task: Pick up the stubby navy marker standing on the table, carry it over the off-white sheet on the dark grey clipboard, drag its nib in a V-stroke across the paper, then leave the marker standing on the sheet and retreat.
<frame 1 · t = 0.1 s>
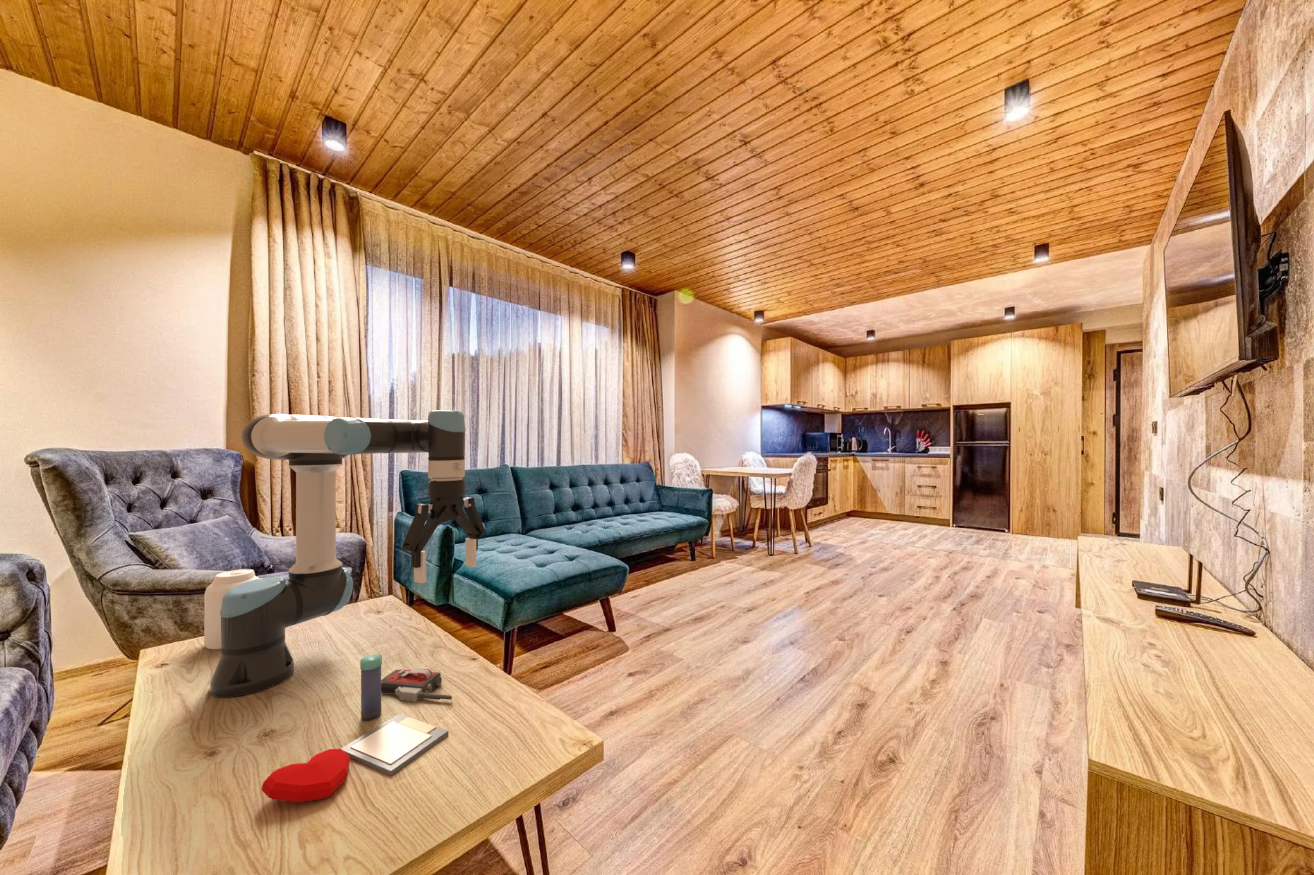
hand: (446, 573, 103), 28 cm above the table, fingers open, 13 cm apart
marker: (371, 716, 96), on the table
white jar: (234, 641, 133), on the table
heart: (315, 791, 76), on the table
clipboard: (395, 743, 87), on the table
walkie-talkie: (420, 693, 106), on the table
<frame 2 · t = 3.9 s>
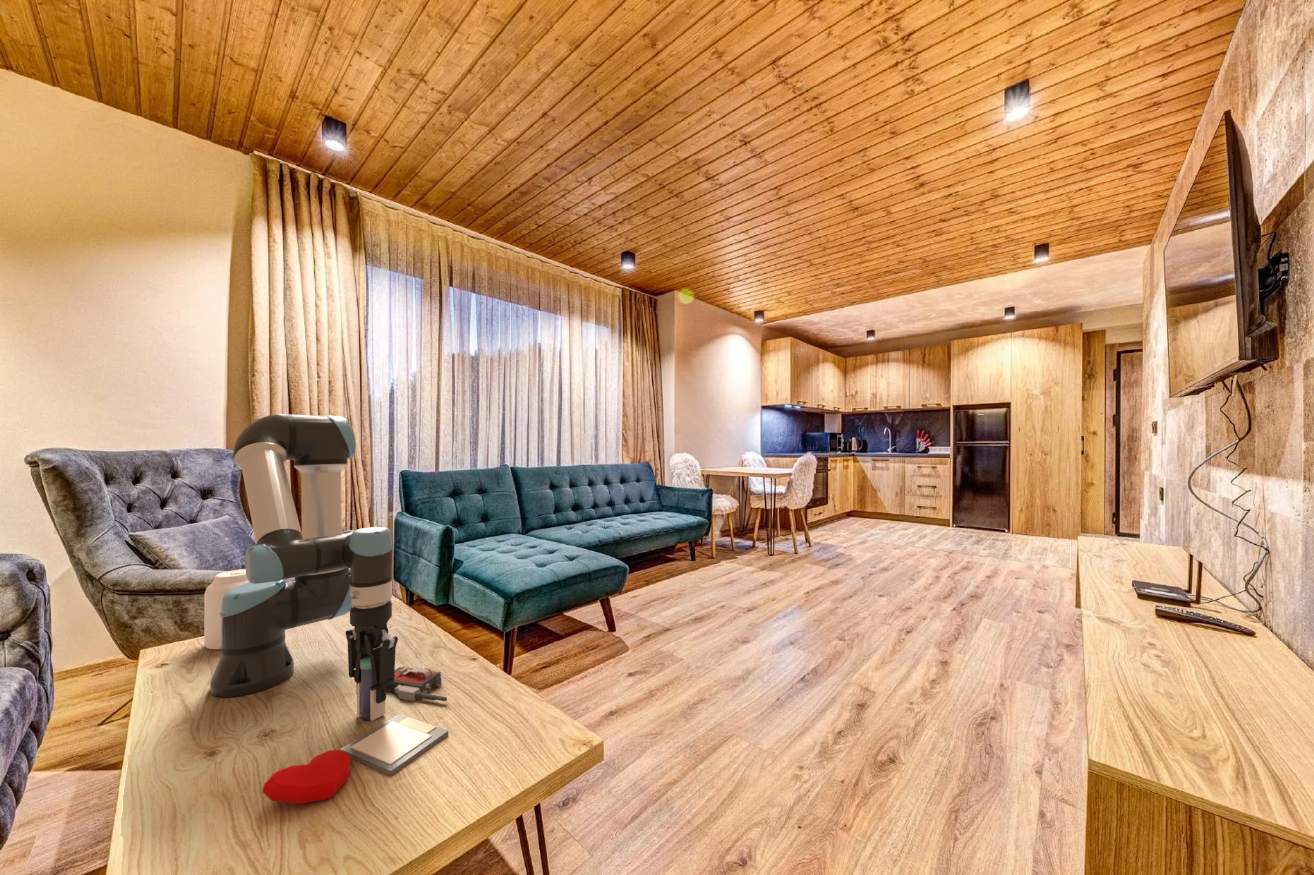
hand: (371, 714, 96), 0 cm above the table, fingers closed on marker, 4 cm apart
marker: (371, 715, 96), on the table, touching gripper
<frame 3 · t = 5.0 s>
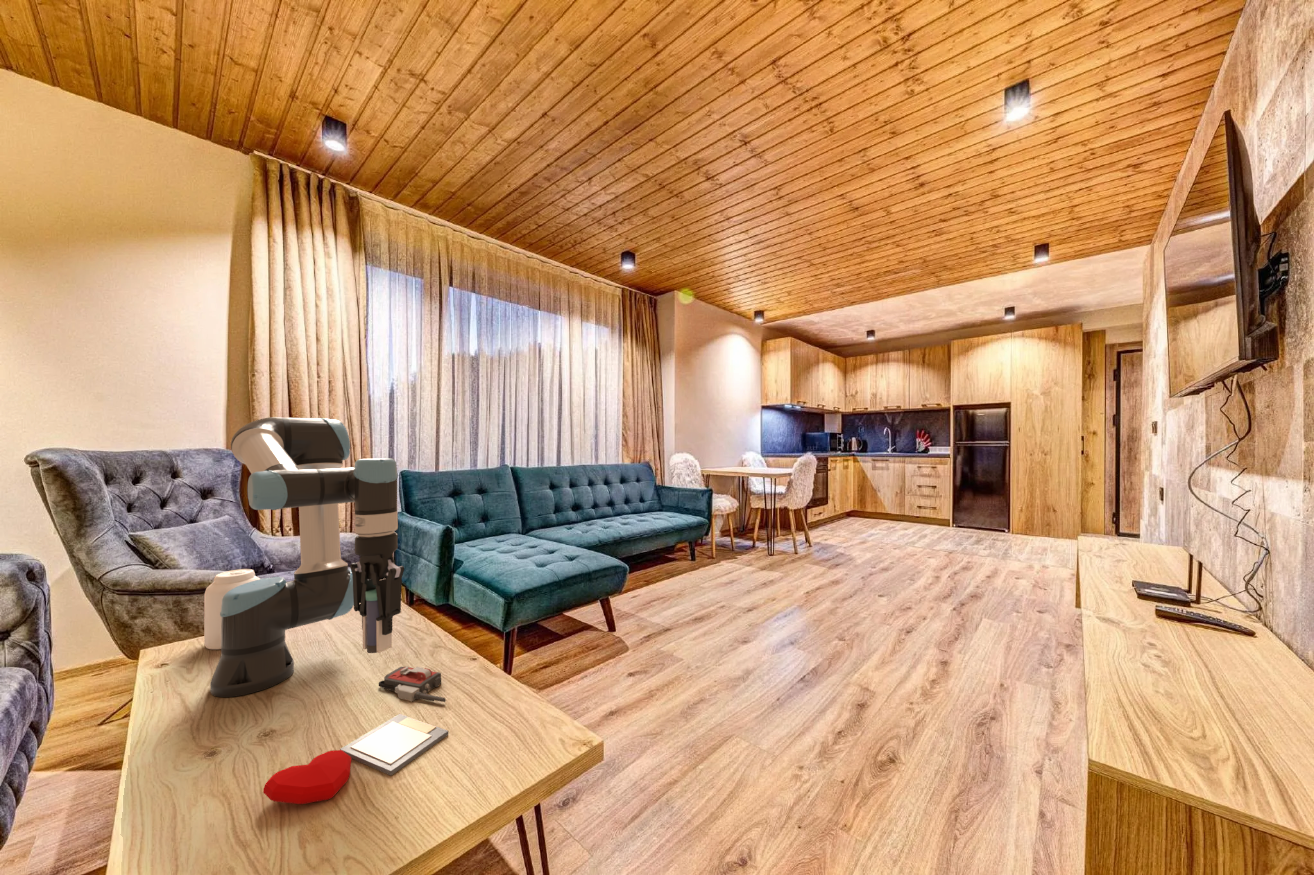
hand: (377, 647, 94), 15 cm above the table, fingers closed on marker, 4 cm apart
marker: (377, 649, 94), point 15 cm above the table, touching gripper
everything else where it was.
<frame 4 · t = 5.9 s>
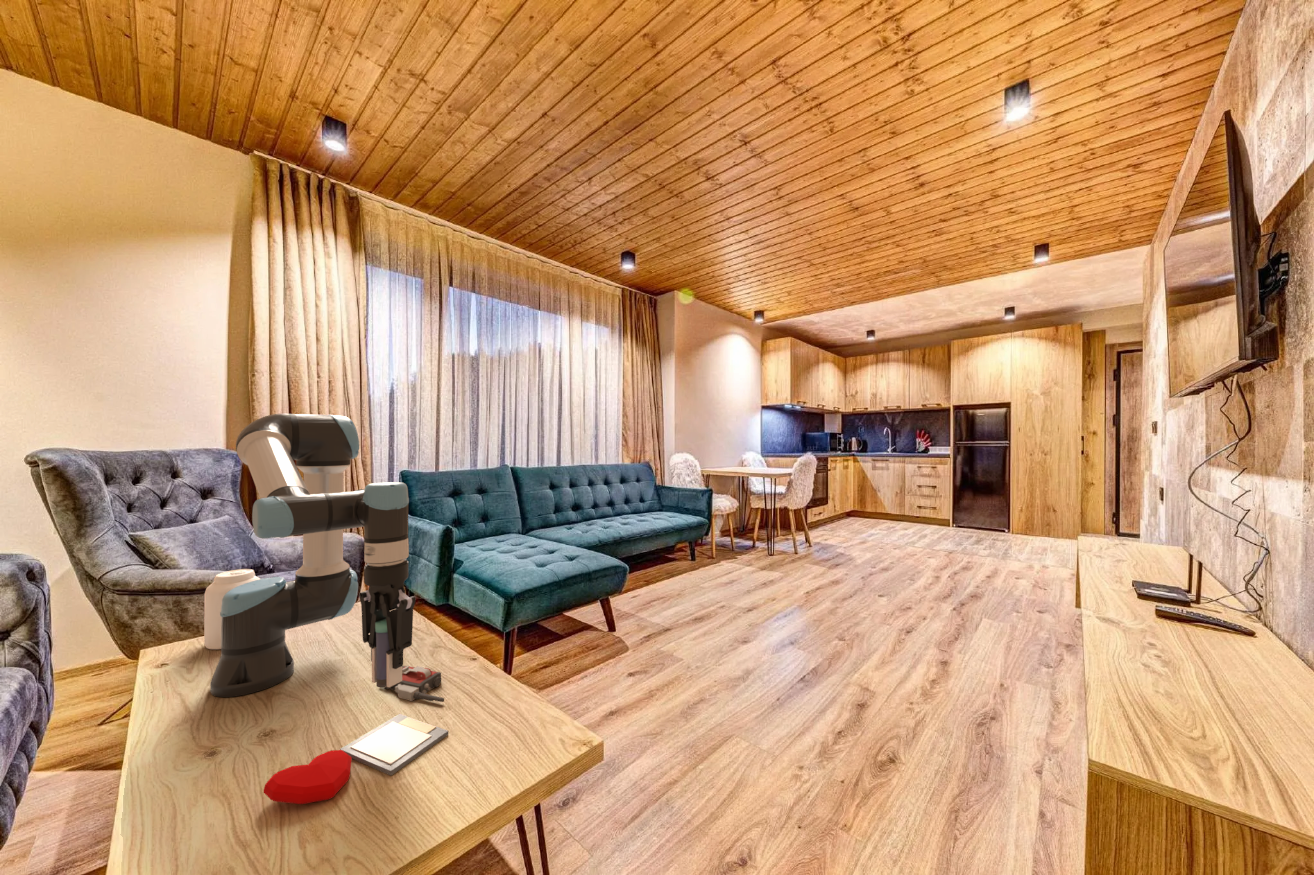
hand: (387, 681, 90), 11 cm above the table, fingers closed on marker, 4 cm apart
marker: (387, 682, 90), point 10 cm above the table, touching gripper
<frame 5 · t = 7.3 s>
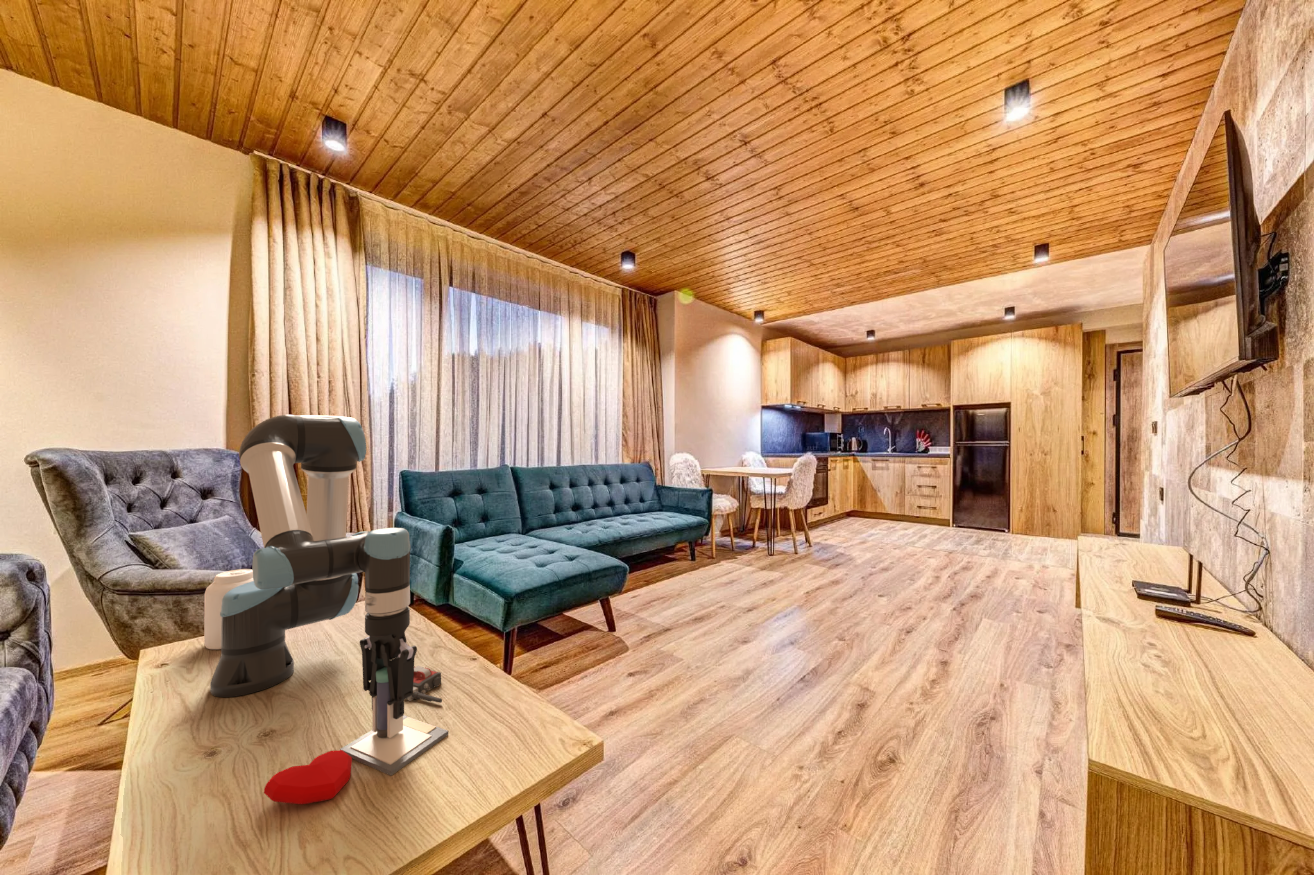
hand: (387, 730, 89), 2 cm above the table, fingers closed on marker, 4 cm apart
marker: (387, 731, 89), point 1 cm above the table, touching gripper
when the fingers open (1 cm above the table, at t = 9.9 s): marker stays where it is, resting on clipboard.
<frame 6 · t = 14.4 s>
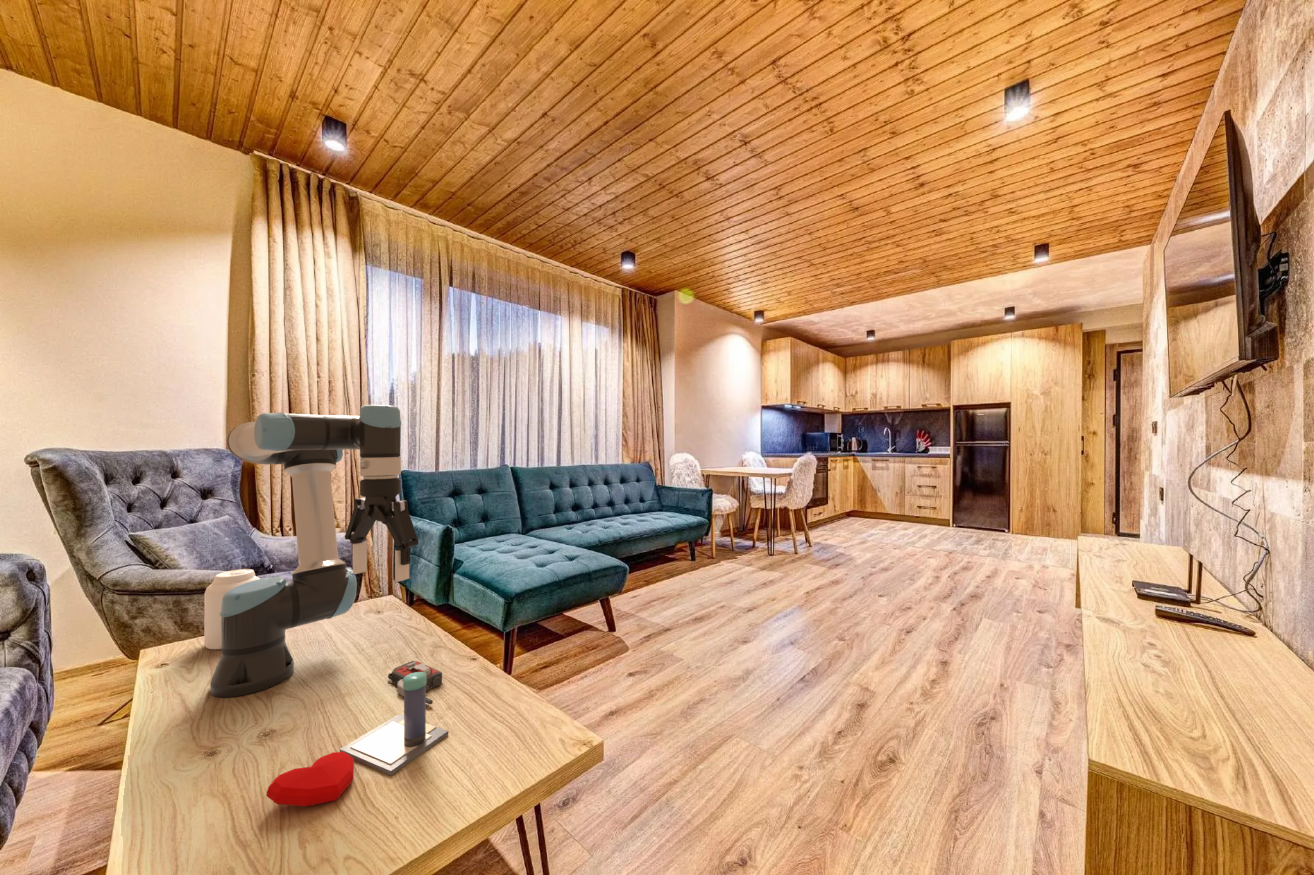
hand: (380, 576, 98), 29 cm above the table, fingers open, 13 cm apart
marker: (414, 740, 87), point 1 cm above the table, touching clipboard
at the end: marker inside the target area (4.0 cm from its centre), point 1.0 cm above the table; marker tilted 0°; the gripper is holding nothing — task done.
